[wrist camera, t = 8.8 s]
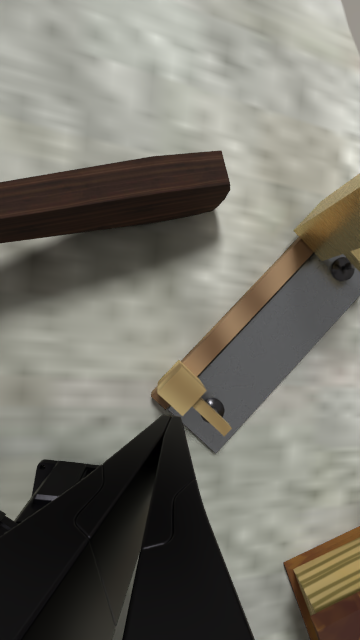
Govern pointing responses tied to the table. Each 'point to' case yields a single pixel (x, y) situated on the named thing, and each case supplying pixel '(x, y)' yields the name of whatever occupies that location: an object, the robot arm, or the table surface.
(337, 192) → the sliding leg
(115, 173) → the hammer
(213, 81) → the table surface
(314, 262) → the bolt strip
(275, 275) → the trammel bar
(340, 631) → the diary
